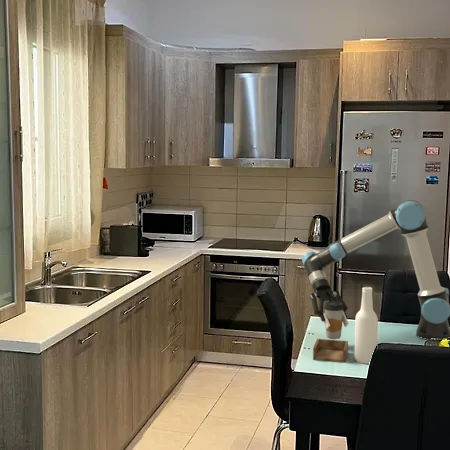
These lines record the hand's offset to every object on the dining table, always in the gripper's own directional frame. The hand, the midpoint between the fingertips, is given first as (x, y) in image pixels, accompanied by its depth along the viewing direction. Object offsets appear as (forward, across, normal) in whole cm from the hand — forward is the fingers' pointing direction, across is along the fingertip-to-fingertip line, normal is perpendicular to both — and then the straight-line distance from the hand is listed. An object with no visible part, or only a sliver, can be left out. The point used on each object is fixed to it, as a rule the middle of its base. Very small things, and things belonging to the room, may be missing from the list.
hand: (337, 326), depth 255 cm
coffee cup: (+2, 0, -6) cm, 7 cm away
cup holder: (+13, +8, -1) cm, 15 cm away
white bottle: (+20, -2, +6) cm, 21 cm away
